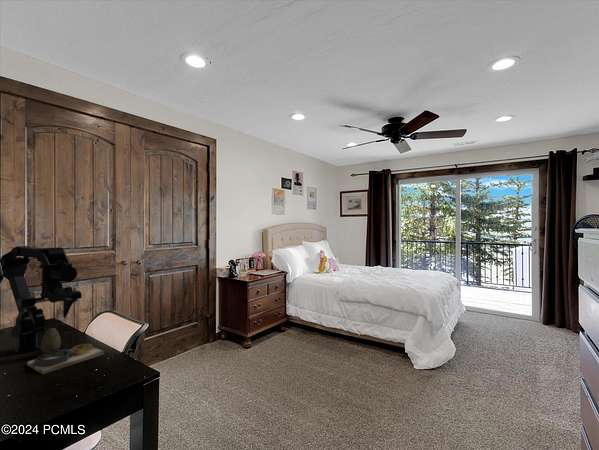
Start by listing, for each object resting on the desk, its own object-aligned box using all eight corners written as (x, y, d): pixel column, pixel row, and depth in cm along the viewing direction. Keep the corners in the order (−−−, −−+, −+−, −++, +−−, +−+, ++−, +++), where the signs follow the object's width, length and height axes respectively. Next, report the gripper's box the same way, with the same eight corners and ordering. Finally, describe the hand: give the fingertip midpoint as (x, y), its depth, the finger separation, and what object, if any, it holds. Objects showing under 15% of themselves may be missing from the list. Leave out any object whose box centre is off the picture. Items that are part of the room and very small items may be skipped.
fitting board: (27, 365, 107) (27, 361, 107) (87, 347, 123) (87, 344, 123) (42, 374, 100) (42, 370, 100) (103, 354, 116) (103, 351, 116)
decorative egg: (39, 358, 112) (40, 331, 112) (41, 353, 117) (42, 327, 117) (60, 354, 116) (60, 328, 116) (61, 349, 120) (61, 324, 121)
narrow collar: (69, 354, 115) (69, 347, 115) (87, 348, 120) (87, 342, 120) (77, 357, 112) (77, 350, 112) (94, 352, 117) (95, 345, 117)
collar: (31, 363, 106) (31, 356, 106) (63, 354, 115) (63, 347, 115) (42, 370, 101) (43, 363, 101) (75, 360, 110) (75, 353, 110)
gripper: (27, 286, 104) (26, 331, 104) (88, 278, 120) (87, 318, 120) (16, 282, 110) (15, 325, 110) (75, 276, 126) (75, 313, 125)
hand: (50, 320), depth 116 cm, fingers open, 9 cm apart
